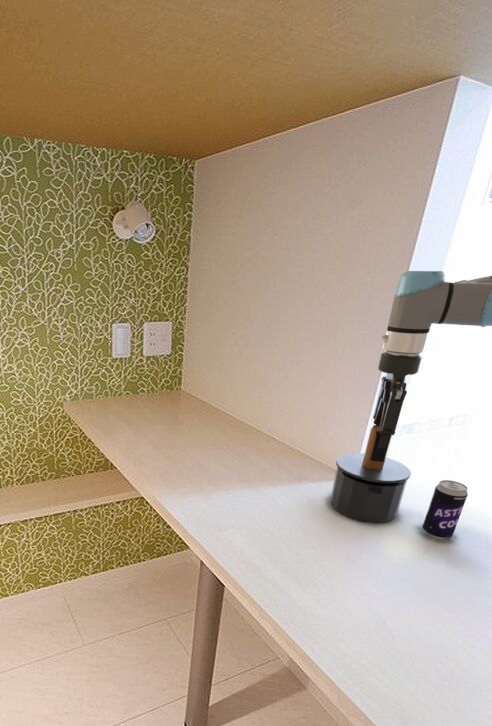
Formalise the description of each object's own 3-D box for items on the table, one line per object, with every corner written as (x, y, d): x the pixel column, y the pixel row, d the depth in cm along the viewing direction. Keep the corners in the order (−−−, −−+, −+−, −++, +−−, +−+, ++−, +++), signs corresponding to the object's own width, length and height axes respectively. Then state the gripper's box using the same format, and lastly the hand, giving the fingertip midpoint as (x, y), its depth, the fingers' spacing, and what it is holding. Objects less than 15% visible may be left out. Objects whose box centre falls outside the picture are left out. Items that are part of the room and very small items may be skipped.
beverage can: (423, 537, 94) (440, 488, 89) (419, 524, 99) (434, 477, 94) (454, 543, 92) (473, 493, 87) (448, 530, 97) (465, 481, 92)
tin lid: (401, 462, 106) (413, 422, 102) (416, 490, 93) (430, 445, 88) (333, 454, 110) (341, 415, 106) (337, 479, 97) (347, 436, 93)
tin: (388, 494, 112) (397, 460, 108) (404, 534, 95) (416, 496, 91) (328, 485, 116) (334, 453, 112) (332, 523, 99) (341, 486, 95)
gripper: (375, 345, 98) (353, 441, 108) (389, 359, 83) (361, 469, 93) (412, 347, 96) (386, 445, 106) (433, 361, 81) (400, 474, 91)
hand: (375, 456), depth 100 cm, fingers closed on tin lid, 4 cm apart
